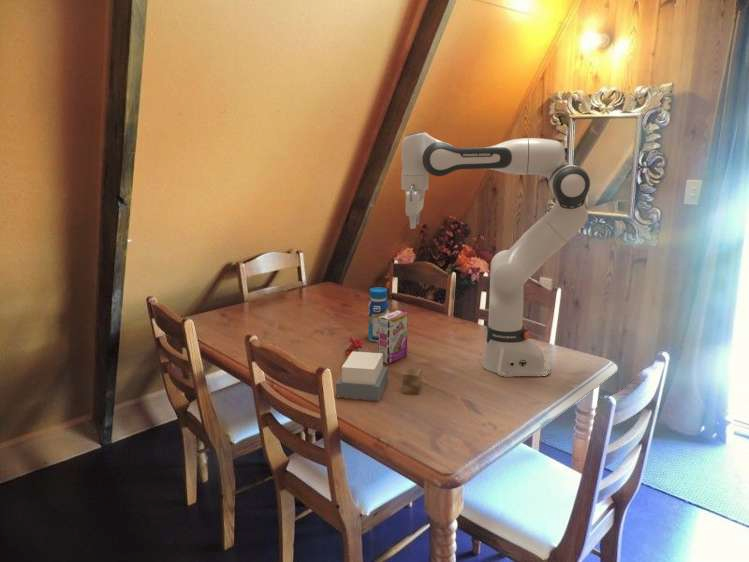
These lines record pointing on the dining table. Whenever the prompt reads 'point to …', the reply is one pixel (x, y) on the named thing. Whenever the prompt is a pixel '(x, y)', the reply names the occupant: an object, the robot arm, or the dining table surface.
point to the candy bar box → (393, 336)
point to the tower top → (362, 368)
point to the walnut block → (411, 381)
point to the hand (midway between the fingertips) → (414, 226)
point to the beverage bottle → (376, 310)
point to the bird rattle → (352, 347)
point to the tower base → (363, 388)
